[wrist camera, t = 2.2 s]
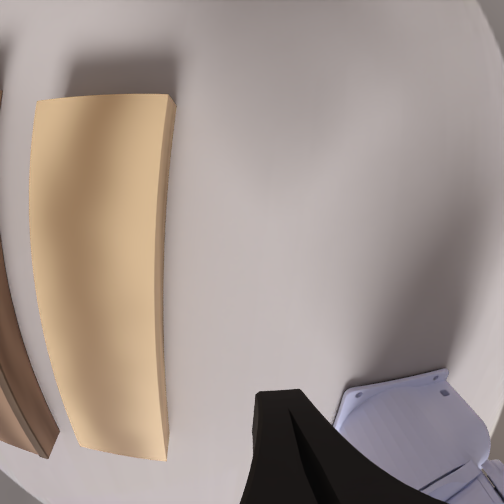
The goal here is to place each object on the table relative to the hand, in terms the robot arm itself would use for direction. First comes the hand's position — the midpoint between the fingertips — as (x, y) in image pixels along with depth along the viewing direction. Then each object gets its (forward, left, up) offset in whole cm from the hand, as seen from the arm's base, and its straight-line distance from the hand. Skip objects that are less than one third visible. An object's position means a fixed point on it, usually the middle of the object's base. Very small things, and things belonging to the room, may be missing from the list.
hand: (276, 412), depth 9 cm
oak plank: (+7, 0, -8) cm, 11 cm away
